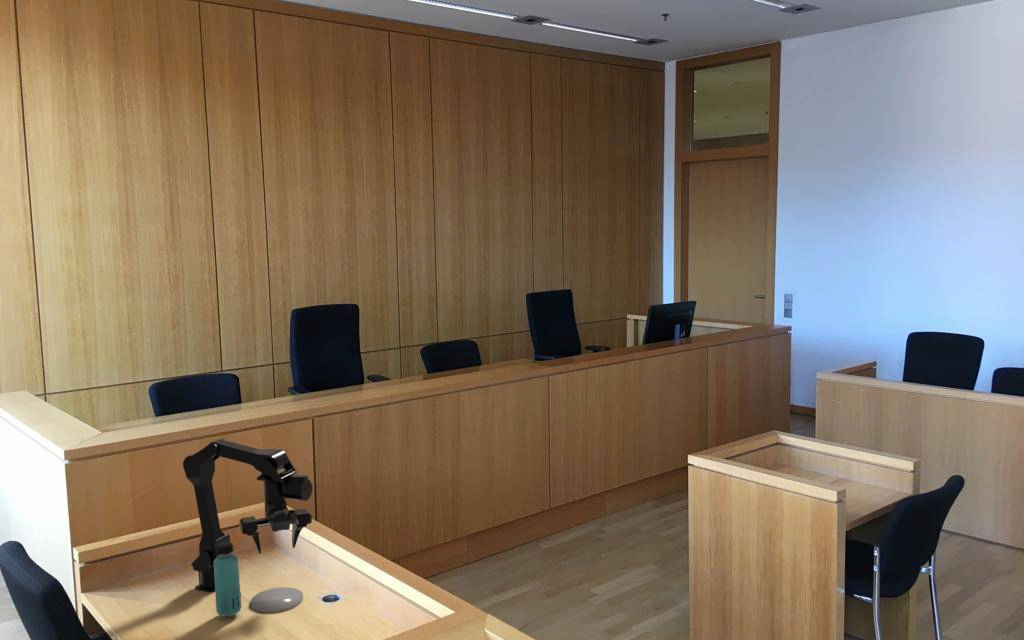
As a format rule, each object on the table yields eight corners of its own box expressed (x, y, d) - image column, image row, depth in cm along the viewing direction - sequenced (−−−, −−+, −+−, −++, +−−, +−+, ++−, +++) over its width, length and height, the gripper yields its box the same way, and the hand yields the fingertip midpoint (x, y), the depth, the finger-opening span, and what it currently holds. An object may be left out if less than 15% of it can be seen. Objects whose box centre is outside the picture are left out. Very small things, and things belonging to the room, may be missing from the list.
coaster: (239, 607, 226) (239, 604, 225) (274, 586, 238) (274, 583, 238) (280, 616, 220) (280, 613, 220) (313, 594, 232) (313, 592, 232)
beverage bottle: (234, 622, 217) (229, 549, 214) (211, 620, 218) (206, 547, 216) (246, 611, 223) (242, 539, 221) (224, 609, 224) (220, 538, 222)
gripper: (245, 510, 217) (247, 567, 219) (316, 500, 225) (317, 554, 227) (238, 497, 227) (240, 552, 229) (306, 488, 235) (307, 540, 237)
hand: (276, 550), depth 230 cm, fingers open, 9 cm apart
